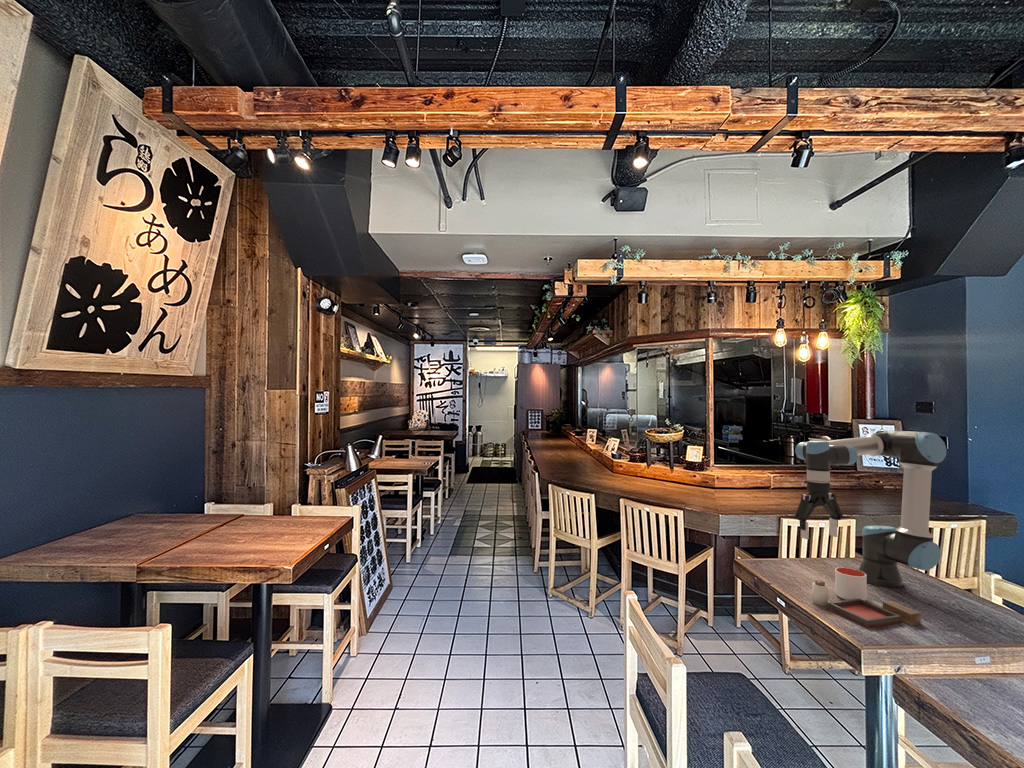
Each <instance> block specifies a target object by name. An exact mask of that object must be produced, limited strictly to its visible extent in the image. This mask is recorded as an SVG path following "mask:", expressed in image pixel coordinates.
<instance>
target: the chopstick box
mask: <svg viewBox="0 0 1024 768" xmlns="http://www.w3.org/2000/svg"><path fill="white" fill-rule="evenodd" d="M882 608H883V609H886V610H888V611H890V612H893V613H895V614H897V615H900V616H901V619H902V622H903V623H905V624H907V625H910V626H917V625H921V624H922V622H921V621H922V620H921V612H918V611H916V610H913V609H911V608H910V607H907V606H905V605H902V604H901V603H900V604H899V603H897V602H894V601H892V600H889V601H883V602H882Z"/></svg>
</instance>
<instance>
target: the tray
mask: <svg viewBox="0 0 1024 768" xmlns="http://www.w3.org/2000/svg"><path fill="white" fill-rule="evenodd" d="M827 610H828V611H831V612H833V613H836V614H837V615H839V616H841V617H843V618H845V619H847V620H850V621H852V622H854V623H856V624H858V625H860V626H862V627H864V628H866V629H870V628H871V629H872V628H877V627H885V626H886V627H887V626H891V625H892V626H893V625H898V624H902V622H903V621H902V619H901V616H900V615H897V614H895V613H893V612H890V611H888V610H886V609H883V607H880V606H878V605H876V604H874V603H871V602H869V601H867V600H865V601H864V600H862V599H852V600H845V599H843V600H837V601H831V602H829V601H828V606H827Z"/></svg>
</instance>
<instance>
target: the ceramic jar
mask: <svg viewBox="0 0 1024 768" xmlns="http://www.w3.org/2000/svg"><path fill="white" fill-rule="evenodd" d="M811 591H812V593H811V596H812V603H813V604H815V605H818V606H821V607H828V602H829V585H828V584H827V583H826V582H825V581H823V580H818V579H815V580H814V581H812V583H811Z"/></svg>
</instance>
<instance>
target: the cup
mask: <svg viewBox="0 0 1024 768" xmlns="http://www.w3.org/2000/svg"><path fill="white" fill-rule="evenodd" d="M834 579H835V580H834V582H835V587H834V589H835V590H834V591H835V594H836V595H837V597H839V598H840V599H842V600H852V599H862V600H864V601H867V598H868V588H867V587H868V585H867V583H868V582H867V575H866V574H865V573H864V572H862V571H859V569H855V568H849V567H836V568H835V569H834Z"/></svg>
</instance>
